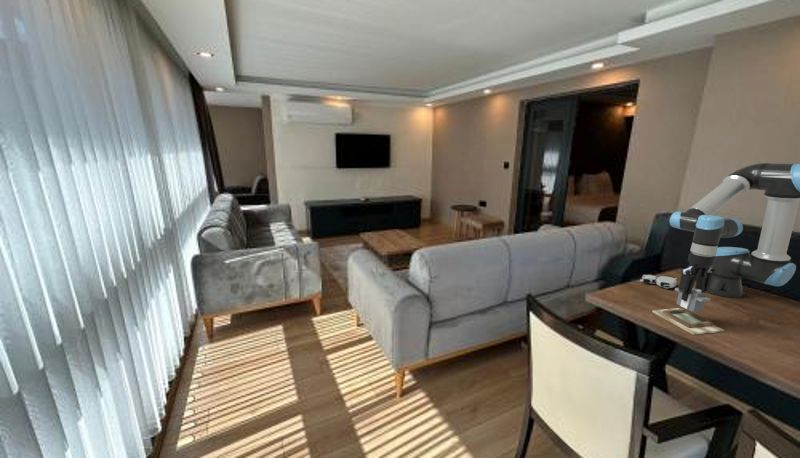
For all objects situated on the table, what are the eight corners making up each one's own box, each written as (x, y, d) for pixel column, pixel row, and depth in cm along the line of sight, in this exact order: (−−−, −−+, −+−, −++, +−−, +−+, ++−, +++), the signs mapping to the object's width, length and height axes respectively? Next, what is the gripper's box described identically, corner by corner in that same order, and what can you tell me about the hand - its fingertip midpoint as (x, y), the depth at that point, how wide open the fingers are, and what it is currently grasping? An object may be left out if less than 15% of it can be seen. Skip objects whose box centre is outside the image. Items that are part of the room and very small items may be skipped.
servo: (679, 301, 138) (684, 282, 136) (706, 313, 127) (712, 293, 125) (671, 301, 137) (676, 282, 135) (698, 314, 127) (703, 293, 125)
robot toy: (638, 285, 171) (674, 292, 160) (639, 277, 170) (675, 284, 159) (642, 279, 179) (677, 285, 169) (643, 271, 178) (678, 277, 168)
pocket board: (679, 309, 144) (680, 304, 143) (723, 331, 126) (725, 326, 126) (652, 312, 142) (653, 307, 141) (693, 334, 124) (694, 329, 124)
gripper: (710, 250, 131) (697, 301, 137) (674, 251, 129) (662, 304, 135) (731, 256, 124) (716, 309, 130) (693, 258, 122) (680, 312, 127)
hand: (689, 306), depth 132 cm, fingers closed on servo, 4 cm apart
